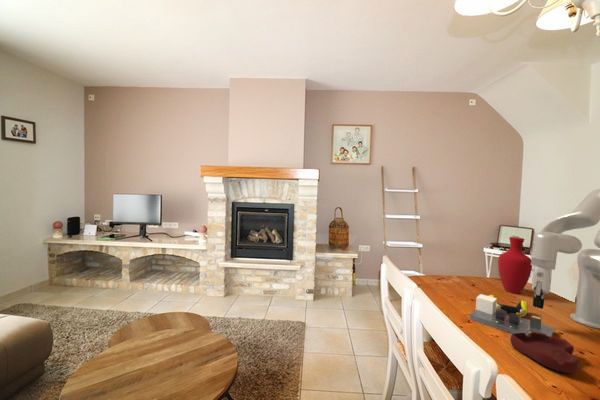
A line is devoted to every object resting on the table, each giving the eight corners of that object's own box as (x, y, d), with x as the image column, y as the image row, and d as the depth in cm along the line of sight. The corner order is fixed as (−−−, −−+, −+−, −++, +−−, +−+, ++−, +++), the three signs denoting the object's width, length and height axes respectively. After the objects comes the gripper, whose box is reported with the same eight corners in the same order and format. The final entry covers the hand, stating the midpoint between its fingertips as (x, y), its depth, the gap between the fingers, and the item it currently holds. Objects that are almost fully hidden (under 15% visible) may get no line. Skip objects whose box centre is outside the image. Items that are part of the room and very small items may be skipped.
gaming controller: (486, 304, 133) (489, 312, 124) (487, 293, 133) (490, 300, 124) (526, 312, 126) (531, 321, 117) (527, 300, 125) (532, 308, 117)
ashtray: (510, 336, 104) (512, 324, 103) (571, 355, 93) (572, 340, 93) (508, 358, 90) (509, 343, 90) (579, 382, 80) (580, 366, 79)
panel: (553, 332, 108) (554, 318, 107) (548, 346, 98) (550, 331, 97) (480, 309, 126) (481, 297, 126) (469, 319, 116) (470, 306, 116)
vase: (490, 288, 155) (494, 235, 153) (505, 285, 161) (509, 234, 159) (520, 298, 141) (524, 241, 140) (535, 294, 147) (540, 239, 146)
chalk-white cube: (495, 310, 121) (496, 298, 121) (492, 314, 117) (493, 302, 116) (479, 305, 125) (480, 294, 125) (475, 309, 121) (476, 297, 121)
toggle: (541, 326, 108) (541, 317, 108) (539, 328, 106) (540, 319, 106) (531, 323, 110) (532, 314, 110) (529, 325, 108) (530, 316, 108)
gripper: (553, 268, 104) (547, 315, 105) (557, 263, 114) (552, 306, 115) (528, 263, 110) (522, 308, 111) (534, 259, 120) (529, 299, 121)
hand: (537, 307), depth 113 cm, fingers closed
